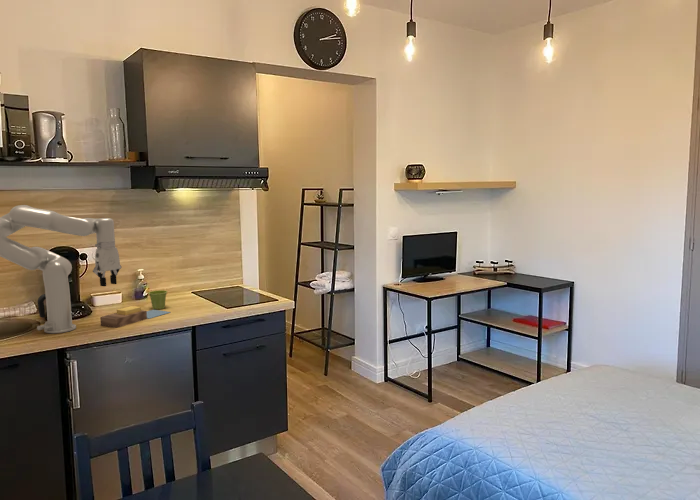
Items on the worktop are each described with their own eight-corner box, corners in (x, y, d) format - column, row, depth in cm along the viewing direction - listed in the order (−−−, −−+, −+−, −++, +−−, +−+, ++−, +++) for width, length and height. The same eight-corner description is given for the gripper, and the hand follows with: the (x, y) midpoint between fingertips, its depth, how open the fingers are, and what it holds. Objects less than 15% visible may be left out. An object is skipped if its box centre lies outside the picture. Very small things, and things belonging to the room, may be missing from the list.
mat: (149, 318, 256) (149, 318, 256) (131, 316, 261) (131, 315, 261) (170, 312, 268) (170, 312, 268) (153, 310, 274) (153, 309, 273)
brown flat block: (115, 327, 240) (115, 319, 239) (100, 325, 244) (100, 317, 244) (146, 318, 256) (146, 310, 255) (132, 316, 260) (131, 308, 260)
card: (125, 315, 247) (125, 311, 247) (116, 313, 249) (116, 309, 249) (141, 311, 255) (140, 307, 255) (132, 309, 257) (132, 305, 257)
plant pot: (155, 311, 271) (154, 294, 270) (145, 308, 278) (144, 292, 276) (171, 307, 278) (170, 291, 277) (162, 305, 285) (161, 289, 283)
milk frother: (62, 316, 261) (59, 287, 260) (85, 319, 256) (83, 289, 254) (35, 323, 248) (33, 292, 246) (59, 326, 242) (57, 295, 241)
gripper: (95, 247, 229) (98, 289, 232) (127, 243, 245) (129, 282, 247) (83, 247, 233) (86, 287, 235) (116, 243, 248) (118, 281, 250)
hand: (108, 284), depth 241 cm, fingers open, 4 cm apart
